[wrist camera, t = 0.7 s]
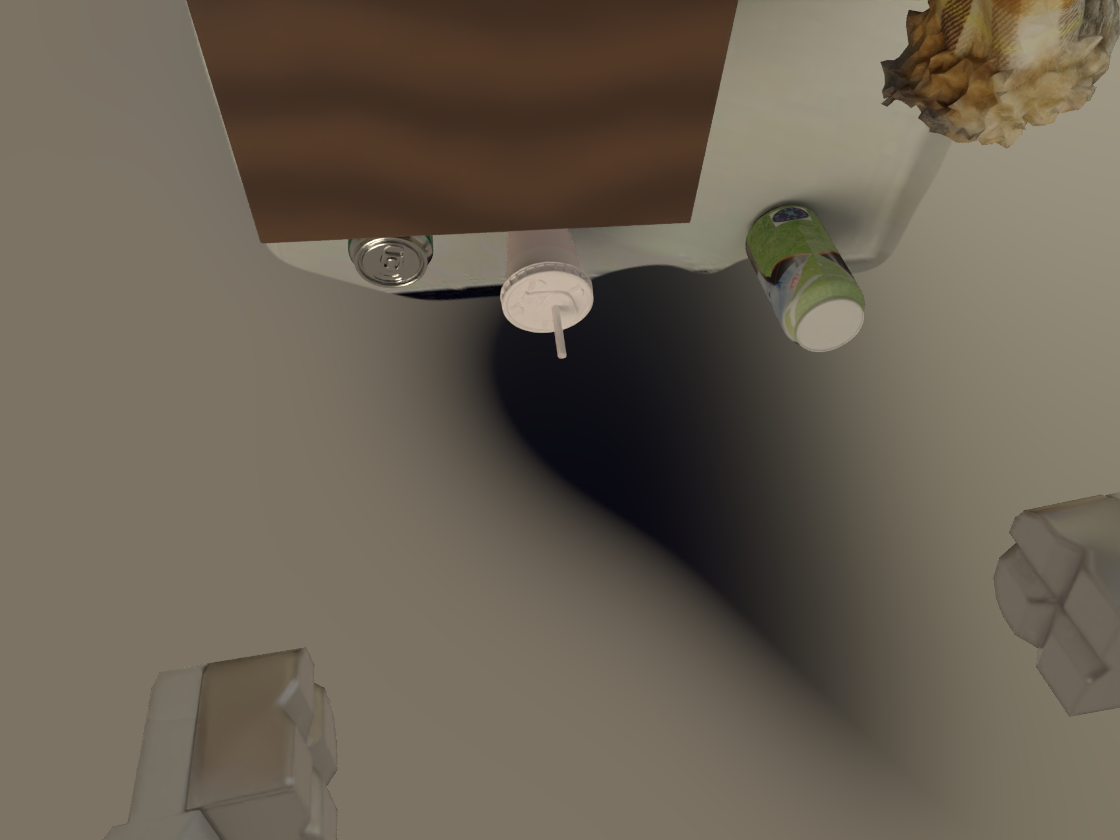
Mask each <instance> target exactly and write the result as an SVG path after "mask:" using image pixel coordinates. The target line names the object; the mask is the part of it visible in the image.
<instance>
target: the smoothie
mask: <svg viewBox="0 0 1120 840" xmlns="http://www.w3.org/2000/svg"><path fill="white" fill-rule="evenodd" d="M500 299H501V302H502V307H503V308H502V309H503V312H504V314H505V316H506V318H507V319H508V320H509V321H510V322H511V323H512V324H513V325H515V326H517V327H519V328H521V329H524V330H527V331H532V332H541V333H545V332H554V331H555V338H556V345H557V352H558V357H559V358H565V357H566V350H565V343H564V336H563V329H565V328H568V327H570V326H572V325H575V324H576V323H578V322H579V321H580V320H582V319H583V318H584V317H585V316H586V315H587V314H588V312H589V311H590V309H591V307H592V304H593V290H592V283H591V280H590V279H589V277H588V275H587V274H586V273H585V272H583V269H582V266H581V263H580V261H579V258H578V255H577V252H576V249H575V246H574V243H573V241H572V238H571V235H570V232H569V229H548V230H527V231H508V245H507V264H506V281H505V283H504V285H503V287H502V289H501V295H500Z"/></svg>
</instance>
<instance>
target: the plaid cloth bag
mask: <svg viewBox="0 0 1120 840" xmlns="http://www.w3.org/2000/svg"><path fill="white" fill-rule="evenodd" d="M928 4H929V7H930V8H929V9H928V10H926V11H924V12H918V11H912V10H909V11H908V15H907V21H906V28H907V35H908V43H909V45H908V46H907V48H906V49H905V50H904V52H903V53H902V54H901V55H900V57H899V58H897V59H896V60H886V61H883V62H881V65H882V68H883V71H884V74H885V85H884V88H883V90H882V93H883V97H884V99H885V98H887V97H888V98H887V99H886V100H885V101H884V102H883V103H882V104H883V105H885V106H888V105H890V104H891V103H892V102H893V101H894V100H895V99H896V100H900V101H902V102H904V103H905V104H907V105H908V106H909V107H911V108H912V107H913V106H915V105H917V106H918V108H919V109H920V111H921V114H920V116H919V117H918V118H919V119H921V120H922V121H923V122H924V123H925V124H926V125H927V126H928V127H929V128H930V130H929V132H934V133H940V134H942V135H945V136H947V137H949V138H951V139H952V140H954V141H955V142H962V143H963V142H964V143H969V142H972V141H975V140H978V141H979V142H980V143H981V144H982V145H988V144H993V143H998V144H1000V145H1002V146H1003V147H1005V148H1008V147H1010V146H1011V145H1012V144H1013V143H1014V142H1015V141H1016V140H1017V139H1018V138H1019V137H1020V136H1021V135H1022V133H1023V130H1025V126H1026V124H1027V122H1029V123H1030V124H1031V125H1032V126H1040V125H1046V124H1050V123H1052V122H1054V121H1055V119H1056V117H1057V115H1058V114H1059V113H1064V112H1068V111H1072V110H1079V109H1080V108H1081V107H1082V106H1083V105H1084V104H1085V103H1086V102H1087V101H1089V100H1090V99H1091V97H1092V95H1093V94H1094V92H1095V89H1096V87H1094V86H1093V84H1094V83H1095V82H1096V81H1097V80H1098V79H1099V78H1100V77H1101V76H1102V75H1103V74H1104V73H1105V72H1106V71H1107V70H1108V68H1109V63H1110V56H1111V53H1112V50H1113V48H1114V46H1115V43H1116V41H1117V39H1118V37H1119V35H1120V20H1119V19H1120V17H1119V6H1118V3H1117V0H928Z"/></svg>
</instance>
